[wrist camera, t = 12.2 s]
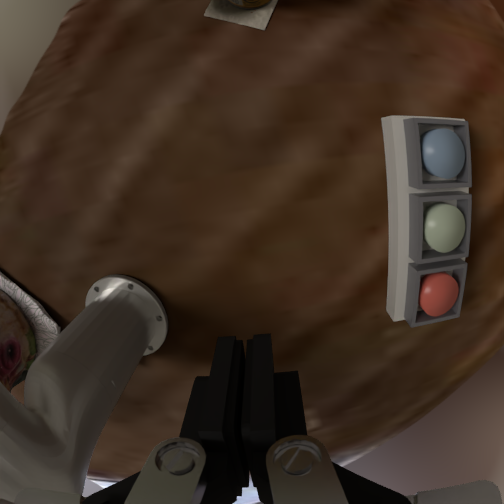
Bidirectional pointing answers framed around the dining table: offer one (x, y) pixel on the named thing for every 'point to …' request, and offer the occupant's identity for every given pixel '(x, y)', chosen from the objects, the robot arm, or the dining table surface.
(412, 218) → the button housing
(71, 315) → the dining table surface
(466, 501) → the robot arm
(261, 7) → the condiment
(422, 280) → the red button
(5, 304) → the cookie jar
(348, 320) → the dining table surface
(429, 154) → the blue button
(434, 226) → the sage button
